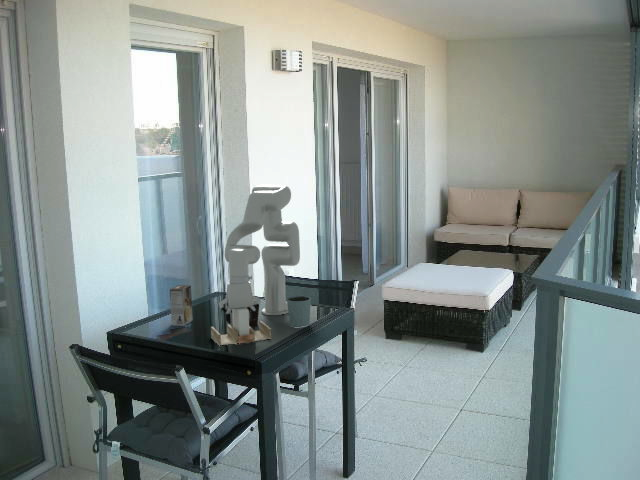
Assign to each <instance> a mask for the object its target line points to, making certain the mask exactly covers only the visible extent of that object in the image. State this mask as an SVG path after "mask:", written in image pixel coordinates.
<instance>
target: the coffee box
mask: <svg viewBox="0 0 640 480" xmlns="http://www.w3.org/2000/svg"><path fill="white" fill-rule="evenodd" d="M169 301H170V322H171V326H176V327H177V326H179V327H184V326H187V325H188V324H190V323H191V322H193V301H192V285H186V284H185V285H184V284H183V285H182V284H181V285H180V284H179V285H176V286H173V287H171V288H170V289H169Z"/></svg>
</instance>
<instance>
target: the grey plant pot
mask: <svg viewBox="0 0 640 480" xmlns="http://www.w3.org/2000/svg"><path fill="white" fill-rule="evenodd" d="M286 302H287V304H288V311H289V312H288V313H287V314H288V322H289V327H290V326H293V327H301V326H306V325H309V324H310V325H311V323H310V322H311V317H310V315H311V304H312V303H311V302H312V298H311V297H310V296H307V295H293V296H289V297H288V298H286ZM310 325H309V326H310Z"/></svg>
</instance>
